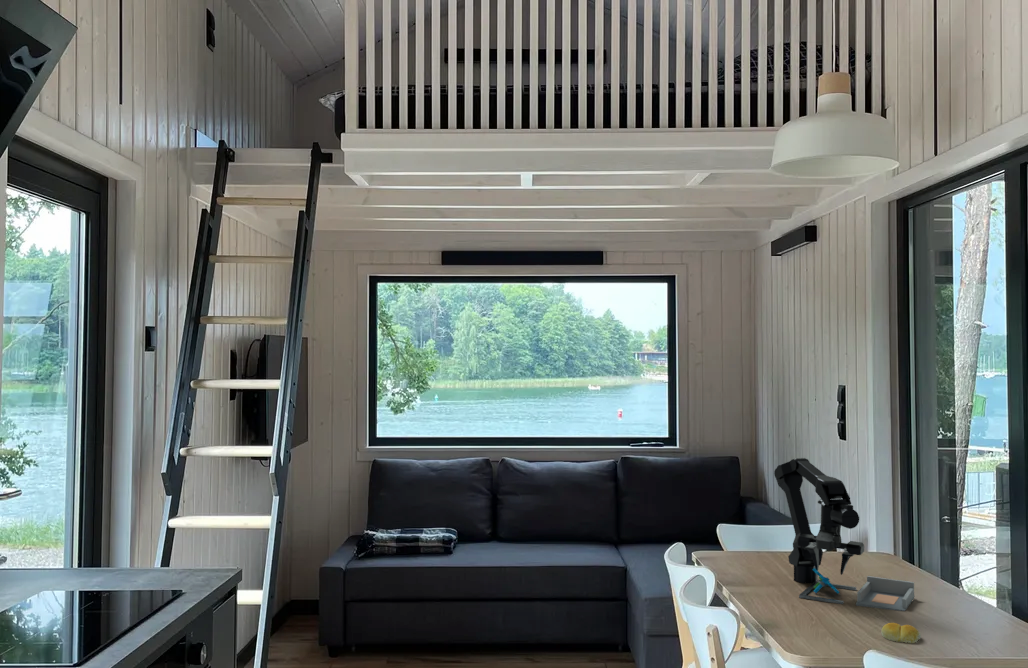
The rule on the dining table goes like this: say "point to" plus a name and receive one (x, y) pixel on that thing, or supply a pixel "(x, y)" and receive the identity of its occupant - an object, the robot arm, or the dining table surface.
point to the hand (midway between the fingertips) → (829, 572)
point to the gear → (822, 582)
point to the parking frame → (805, 596)
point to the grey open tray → (886, 594)
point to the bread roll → (900, 633)
